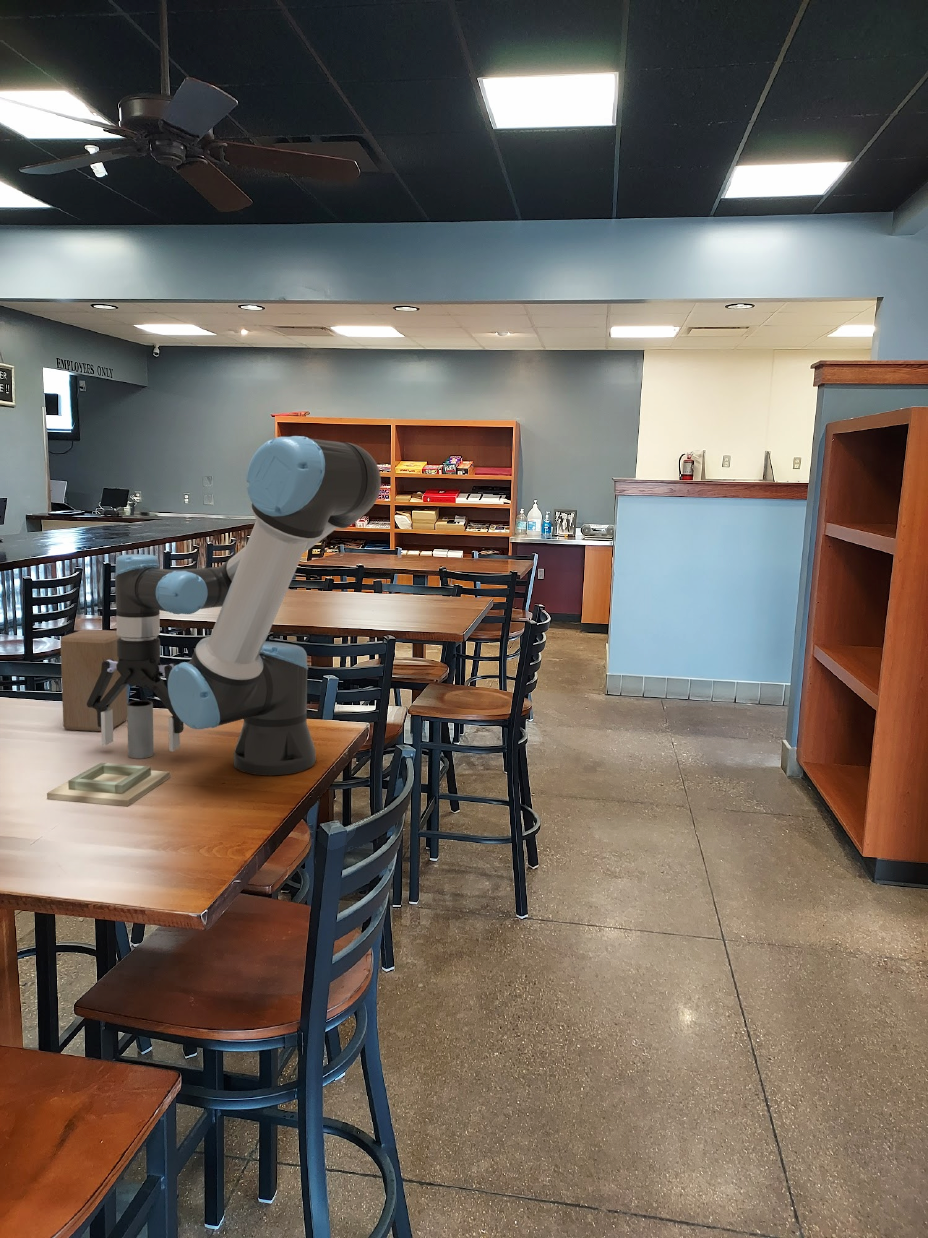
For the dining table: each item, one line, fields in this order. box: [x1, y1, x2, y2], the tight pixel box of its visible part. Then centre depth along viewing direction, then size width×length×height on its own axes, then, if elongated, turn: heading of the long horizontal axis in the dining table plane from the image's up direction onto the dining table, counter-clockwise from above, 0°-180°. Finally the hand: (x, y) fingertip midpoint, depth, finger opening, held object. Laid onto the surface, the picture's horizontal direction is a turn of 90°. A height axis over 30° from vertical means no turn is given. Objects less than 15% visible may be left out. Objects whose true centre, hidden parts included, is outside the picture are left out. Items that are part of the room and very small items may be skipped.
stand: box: [46, 762, 171, 807], centre depth 138 cm, size 14×14×2 cm
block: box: [60, 628, 128, 732], centre depth 172 cm, size 10×10×20 cm
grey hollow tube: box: [126, 699, 155, 760], centre depth 155 cm, size 4×4×10 cm
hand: (140, 746), depth 155 cm, fingers open, 13 cm apart
